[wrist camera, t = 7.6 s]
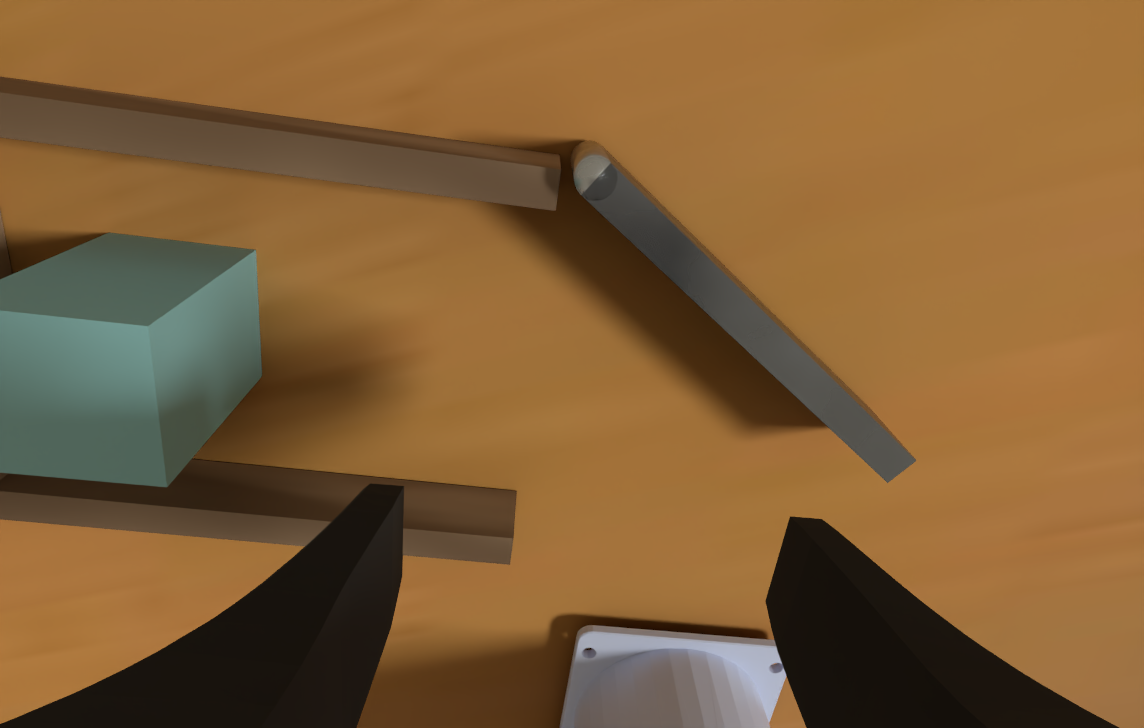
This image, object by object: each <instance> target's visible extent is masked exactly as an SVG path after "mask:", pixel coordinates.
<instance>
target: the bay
mask: <svg viewBox="0 0 1144 728" xmlns="http://www.w3.org/2000/svg"><path fill="white" fill-rule="evenodd" d="M0 137H1V138H9V139H16V140H24V141H31V142H39V143H47V144H54V145H62V146H69V147H77V148H84V149H92V150H99V151H107V152H115V153H122V154H130V155H137V156H145V157H152V158H160V159H167V160H175V161H182V162H190V163H198V164H205V165H213V166H220V167H228V168H235V169H243V170H250V171H258V172H266V173H273V174H281V175H288V176H296V177H303V178H311V179H318V180H326V181H334V182H341V183H349V184H356V185H364V186H371V187H379V188H386V189H394V190H401V191H409V192H417V193H424V194H432V195H439V196H447V197H454V198H462V199H469V200H477V201H485V202H492V203H500V204H507V205H515V206H522V207H530V208H537V209H545V210H553V211H556V205H557V198H558V190H559V182H560V174H561V164H560V155H558V154H551V153H544V152H537V151H529V150H522V149H515V148H508V147H501V146H494V145H486V144H479V143H472V142H465V141H458V140H450V139H443V138H436V137H429V136H422V135H415V134H407V133H400V132H393V131H386V130H379V129H372V128H364V127H357V126H350V125H343V124H336V123H328V122H321V121H314V120H307V119H300V118H293V117H285V116H278V115H271V114H264V113H257V112H249V111H242V110H235V109H228V108H221V107H214V106H206V105H199V104H192V103H185V102H178V101H171V100H163V99H156V98H149V97H142V96H135V95H127V94H120V93H113V92H106V91H99V90H92V89H84V88H77V87H70V86H63V85H56V84H48V83H41V82H34V81H27V80H20V79H13V78H5V77H0ZM9 275H12V270H11V265H10V260H9V255H8V249H7V244H6V239H5V234H4V228H3V223H2V218H1V212H0V279H2V278H5V277H7V276H9ZM370 483H372V484H384V485H397V486H404V516H403V555H408V556H419V557H430V558H441V559H453V560H464V561H475V562H486V563H497V564H509V565H510V560H511V552H512V544H513V535H514V521H515V506H516V492H517V491H512V490H501V489H491V488H481V487H471V486H461V485H450V484H440V483H430V482H420V481H410V480H399V479H389V478H379V477H369V476H359V475H348V474H338V473H328V472H318V471H308V470H297V469H287V468H277V467H267V466H256V465H246V464H236V463H226V462H216V461H205V460H195V459H191V460H190V461H189V462H188V464H187V465H186V466H185V467H184V468H183V469H182V471H181V472H180V473H179V474H178V475H177V476H176V478H175V479H174V480H173V481H172V482H171V483H170V485H169V486H168V487H158V486H147V485H135V484H124V483H113V482H102V481H90V480H79V479H68V478H56V477H45V476H34V475H22V474H11V473H0V519H4V520H15V521H26V522H37V523H48V524H60V525H71V526H82V527H93V528H105V529H116V530H127V531H138V532H149V533H161V534H172V535H183V536H194V537H206V538H217V539H228V540H239V541H250V542H262V543H273V544H284V545H295V546H306V545H307V544H308V543H309V542H311V541H312V540H313V539H314V538H315V537H316V536H317V535H318V534H319V533H320V532H321V531H322V530H323V529H324V528H325V527H327V526H328V525H329V524H330V523H331V522H332V521H333V520H334V519H335V518H336V517H337V516H338V515H339V514H340V513H341V512H342V511H343V510H344V509H345V508H346V506H347V505H348V504H349V503H350V502H351V501H352V500H353V499H354V498H355V497H356V496H357V495H358V494H359V493H360V492H361V491H362V490H363V489H364V488H365V487H366V486H367V485H369V484H370Z"/></svg>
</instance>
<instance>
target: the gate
mask: <svg viewBox="0 0 1144 728" xmlns="http://www.w3.org/2000/svg"><path fill="white" fill-rule="evenodd" d="M571 167H572V172H573V177H574V182H575V186H576V189H577V191H578V192H579V194H580V195H581V196H582V197H584V198H585V199H586V200H587V201H588V202H589V203H590V204H591V205H592V206H593V207H594V208H595V209H596V210H597V211H598V212H600V213H601V214H602V215H603V216H604V217H605V218H606V219H607V220H608V221H609V222H610V223H611V224H612V225H613V226H614V227H616V228H617V229H618V230H619V231H620V232H621V233H622V234H623V235H624V236H625V237H626V238H627V239H628V240H629V241H630V242H631V243H633V244H634V245H635V246H636V247H637V248H638V249H639V250H640V251H641V252H642V253H643V254H644V255H645V256H646V257H647V258H649V259H650V260H651V261H652V262H653V263H654V264H655V265H656V266H657V267H658V268H659V269H660V270H661V271H662V272H663V273H665V274H666V275H667V276H668V277H669V278H670V279H671V280H672V281H673V282H674V283H675V284H676V285H677V286H678V287H679V288H681V289H682V290H683V291H684V292H685V293H686V294H687V295H688V296H689V297H690V298H691V299H692V300H693V301H694V302H695V303H697V304H698V305H699V306H700V307H701V308H702V309H703V310H704V311H705V312H706V313H707V314H708V315H709V316H710V317H711V318H712V319H714V320H715V321H716V322H717V323H718V324H719V325H720V326H721V327H722V328H723V329H724V330H725V331H726V332H727V333H728V334H730V335H731V336H732V337H733V338H734V339H735V340H736V341H737V342H738V343H739V344H740V345H741V346H742V347H743V348H744V349H746V350H747V351H748V352H749V353H750V354H751V355H752V356H753V357H754V358H755V359H756V360H757V361H758V362H759V363H760V364H762V365H763V366H764V367H765V368H766V369H767V370H768V371H769V372H770V373H771V374H772V375H773V376H774V377H775V378H776V379H778V380H779V381H780V382H781V383H782V384H783V385H784V386H785V387H786V388H787V389H788V390H789V391H790V392H791V393H792V394H793V395H795V396H796V397H797V398H798V399H799V400H800V401H801V402H802V403H803V404H804V405H805V406H806V407H807V408H808V409H809V410H811V411H812V412H813V413H814V414H815V415H816V416H817V417H818V418H819V419H820V420H821V421H822V422H823V423H824V424H825V425H827V426H828V427H829V428H830V429H831V430H832V431H833V432H834V433H835V434H836V435H837V436H838V437H839V438H840V439H841V440H843V441H844V442H845V443H846V444H847V445H848V446H849V447H850V448H851V449H852V450H853V451H854V452H855V453H856V454H857V455H859V456H860V457H861V458H862V459H863V460H864V461H865V462H866V463H867V464H868V465H869V466H870V467H871V468H872V469H873V470H874V471H876V472H877V473H878V474H879V475H880V476H881V477H882V478H883V479H884V480H885V481H886V482H887V483H888V482H889V481H891V480H892V479H893V478H895V477H896V476H897V475H898V474H900V473H901V472H902V471H904V470H905V469H906V468H907V467H909V466H910V465H911V464H913V463H914V462H915V461H916V459H915V458H914V457H913V456H912V455H911V454H910V453H909V452H908V450H907V449H906V448H905V447H904V446H903V445H902V444H901V443H900V441H899V440H898V439H897V438H896V437H895V436H894V435H893V433H892V432H891V431H890V430H889V429H888V428H887V427H886V426H885V424H884V423H883V422H882V421H881V420H880V419H879V418H878V417H877V415H876V414H875V413H874V412H873V411H872V410H871V409H870V408H869V407H868V406H867V405H866V404H865V403H864V402H863V401H862V400H861V399H860V398H859V397H858V396H857V395H856V394H855V393H854V392H853V391H852V390H851V389H850V388H849V387H848V386H847V385H846V384H845V383H844V382H843V381H842V380H841V379H840V378H839V377H838V376H836V375H835V374H834V373H833V372H832V371H831V370H830V369H829V368H828V367H827V366H826V365H825V364H824V363H823V362H822V361H821V360H820V359H819V358H818V357H817V356H816V355H815V354H814V353H813V352H812V351H811V350H810V349H809V348H808V347H807V346H806V345H805V344H804V343H803V342H802V341H801V340H800V339H799V338H798V337H797V336H796V335H795V334H794V333H793V332H792V331H791V330H789V329H788V328H787V327H786V326H785V325H784V324H783V323H782V322H781V321H780V320H779V319H778V318H777V317H776V316H775V315H774V314H773V313H772V312H771V311H770V310H769V309H768V308H767V307H766V306H765V305H764V304H763V303H762V302H761V301H760V300H759V299H758V298H757V297H756V296H755V295H754V294H753V293H752V292H751V291H750V290H749V289H748V288H747V287H746V286H745V285H744V284H743V283H741V282H740V281H739V280H738V279H737V278H736V277H735V276H734V275H733V274H732V273H731V272H730V271H729V270H728V269H727V268H726V267H725V266H724V265H723V264H722V263H721V262H720V261H719V260H718V259H717V258H716V257H715V256H714V255H713V254H712V253H711V252H710V251H709V250H708V249H707V248H706V247H705V246H704V245H703V244H702V243H701V242H700V241H699V240H698V239H697V238H696V237H695V236H693V235H692V234H691V233H690V232H689V231H688V230H687V229H686V228H685V227H684V226H683V225H682V224H681V223H680V222H679V221H678V220H677V219H676V218H675V217H674V216H673V215H672V214H671V213H670V212H669V211H668V210H667V209H666V208H665V207H664V206H663V205H662V204H661V203H660V202H659V201H658V200H657V199H656V198H655V197H654V196H653V195H652V194H651V193H650V192H649V191H648V190H647V189H645V188H644V187H643V186H642V185H641V184H640V183H639V182H638V181H637V180H636V179H635V178H634V177H633V176H632V175H631V174H630V173H629V172H628V171H627V170H626V169H625V168H624V167H623V166H622V165H621V164H620V163H619V162H618V161H617V160H616V159H615V158H614V157H613V156H612V155H611V154H610V153H609V152H608V151H607V150H606V149H605V148H604V147H603V146H602V145H600V144H599V143H597V142H595V141H584V142H581V143H579V144H578V145H577V146H576V147H575V148H574V150H573V151H572V154H571Z"/></svg>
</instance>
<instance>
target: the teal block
mask: <svg viewBox="0 0 1144 728" xmlns="http://www.w3.org/2000/svg"><path fill="white" fill-rule="evenodd" d="M261 377H262V363H261V343H260V323H259V303H258V284H257V264H256V250H253V249H244V248H236V247H227V246H219V245H210V244H202V243H193V242H185V241H176V240H168V239H159V238H151V237H142V236H133V235H125V234H116V233H107V234H104V235H102V236H100V237H97V238H95V239H93V240H90V241H88V242H86V243H83V244H81V245H79V246H77V247H74V248H72V249H70V250H67V251H65V252H63V253H60V254H58V255H56V256H53V257H51V258H49V259H46V260H44V261H42V262H39V263H37V264H35V265H33V266H30V267H28V268H26V269H23V270H21V271H19V272H16V273H14V274H12V275H9V276H7V277H5V278H2V279H0V473H11V474H22V475H34V476H45V477H56V478H68V479H79V480H90V481H102V482H113V483H124V484H135V485H147V486H158V487H168V486H169V485H170V483H171V482H172V481H173V480H174V479H175V478H176V476H177V475H178V474H179V473H180V472H181V471H182V469H183V468H184V467H185V466H186V465H187V464H188V462H189V461H190V460H191V459H192V458H193V457H194V455H195V454H196V453H197V452H198V451H199V450H200V448H201V447H202V446H203V445H204V444H205V443H206V441H207V440H208V439H209V438H210V437H211V436H212V434H213V433H214V432H215V431H216V430H217V428H218V427H219V426H220V425H221V424H222V423H223V421H224V420H225V419H226V418H227V417H228V416H229V414H230V413H231V412H232V411H233V410H234V409H235V407H236V406H237V405H238V404H239V403H240V402H241V400H242V399H243V398H244V397H245V396H246V395H247V393H248V392H249V391H250V390H251V389H252V388H253V386H254V385H255V384H256V383H257V382H258V381H259V379H260V378H261Z"/></svg>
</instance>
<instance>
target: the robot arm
mask: <svg viewBox="0 0 1144 728" xmlns="http://www.w3.org/2000/svg"><path fill="white" fill-rule="evenodd" d="M403 516H404V486H397V485H384V484H372V483H370V484H369V485H367V486H366V487H365V488H364V489H363V490H362V491H361V492H360V493H359V494H358V495H357V496H356V497H355V498H354V499H353V500H352V501H351V502H350V503H349V504H348V505H347V506H346V508H345V509H344V510H343V511H342V512H341V513H340V514H339V515H338V516H337V517H336V518H335V519H334V520H333V521H332V522H331V523H330V524H329V525H328V526H327V527H325V528H324V529H323V530H322V531H321V532H320V533H319V534H318V535H317V536H316V537H315V538H314V539H313V540H312V541H311V542H309V543H308V544H307V545H306V546H305V547H304V548H303V549H302V550H301V551H300V552H299V553H297V554H296V555H295V556H294V557H293V558H292V559H290V560H289V561H288V562H287V563H286V564H284V565H283V566H282V567H281V568H280V569H278V570H277V571H276V572H275V573H274V574H272V575H271V576H270V577H269V578H268V579H266V580H265V581H264V582H263V583H262V584H260V585H259V586H258V587H256V588H255V589H254V590H252V591H251V592H250V593H248V594H247V595H246V596H244V597H243V598H242V599H240V600H239V601H238V602H236V603H235V604H233V605H232V606H231V607H229V608H228V609H226V610H225V611H223V612H222V613H220V614H219V615H218V616H216V617H215V618H213V619H211V620H210V621H208V622H207V623H205V624H203V625H202V626H200V627H198V628H197V629H195V630H193V631H192V632H190V633H188V634H187V635H185V636H183V637H182V638H180V639H178V640H176V641H175V642H173V643H171V644H170V645H168V646H166V647H165V648H163V649H161V650H160V651H158V652H156V653H154V654H152V655H151V656H149V657H147V658H145V659H143V660H141V661H139V662H137V663H135V664H133V665H132V666H130V667H128V668H126V669H124V670H122V671H120V672H118V673H116V674H114V675H112V676H110V677H108V678H105V679H103V680H101V681H99V682H97V683H95V684H93V685H91V686H89V687H87V688H84V689H82V690H80V691H78V692H76V693H74V694H71V695H69V696H67V697H64V698H62V699H59V700H57V701H55V702H52V703H50V704H48V705H45V706H43V707H41V708H38V709H36V710H33V711H31V712H29V713H26V714H24V715H22V716H19V717H17V718H14V719H12V720H10V721H7V722H4V723H2V724H0V728H356V727H357V724H358V721H359V718H360V716H361V713H362V710H363V707H364V704H365V701H366V698H367V695H368V693H369V690H370V687H371V684H372V681H373V678H374V675H375V672H376V669H377V667H378V664H379V661H380V658H381V655H382V652H383V649H384V646H385V643H386V640H387V637H388V634H389V631H390V628H391V625H392V620H393V616H394V611H395V607H396V602H397V598H398V593H399V588H400V583H401V579H402V559H403ZM766 605H767V610H768V614H769V619H770V623H771V628H772V632H773V636H774V640H767V639H755V638H743V637H731V636H719V635H706V634H694V633H682V632H670V631H658V630H646V629H634V628H622V627H610V626H598V625H587V626H584V627H582V628H581V629H580V630H579V631H578V633H577V636H576V642H575V647H574V652H573V658H572V663H571V668H570V674H569V679H568V684H567V690H566V695H565V700H564V706H563V711H562V716H561V722H560V727H559V728H770V725H769V722H770V719H771V717H772V714H773V711H774V708H775V705H776V703H777V700H778V697H779V694H780V691H781V689H782V686H783V683H784V680H785V677H786V676H787V678H788V681H789V684H790V686H791V689H792V691H793V694H794V697H795V699H796V702H797V704H798V707H799V709H800V712H801V714H802V717H803V720H804V722H805V725H806V727H807V728H1119V727H1117V726H1115V725H1113V724H1111V723H1109V722H1107V721H1106V720H1104V719H1102V718H1100V717H1098V716H1096V715H1094V714H1092V713H1090V712H1089V711H1087V710H1085V709H1083V708H1081V707H1080V706H1078V705H1076V704H1074V703H1073V702H1071V701H1069V700H1067V699H1066V698H1064V697H1062V696H1060V695H1059V694H1057V693H1055V692H1053V691H1052V690H1050V689H1048V688H1046V687H1045V686H1043V685H1041V684H1040V683H1038V682H1036V681H1035V680H1033V679H1031V678H1030V677H1028V676H1027V675H1025V674H1023V673H1022V672H1020V671H1019V670H1017V669H1015V668H1014V667H1012V666H1011V665H1009V664H1008V663H1006V662H1005V661H1003V660H1002V659H1000V658H999V657H997V656H996V655H994V654H993V653H991V652H990V651H988V650H987V649H985V648H984V647H982V646H981V645H979V644H978V643H976V642H975V641H974V640H972V639H971V638H969V637H968V636H966V635H965V634H964V633H962V632H961V631H960V630H958V629H957V628H956V627H954V626H953V625H952V624H950V623H949V622H948V621H946V620H945V619H944V618H942V617H941V616H940V615H938V614H937V613H936V612H934V611H933V610H932V609H930V608H929V607H928V606H927V605H925V604H924V603H923V602H922V601H920V600H919V599H918V598H917V597H915V596H914V595H913V594H912V593H910V592H909V591H908V590H907V589H905V588H904V587H903V586H902V585H901V584H899V583H898V582H897V581H896V580H895V579H893V578H892V577H891V576H890V575H889V574H887V573H886V572H885V571H884V570H883V569H882V568H880V567H879V566H878V565H877V564H876V563H874V562H873V561H872V560H871V559H870V558H869V557H867V556H866V555H865V554H864V553H863V552H862V551H860V550H859V549H858V548H857V547H856V546H855V545H853V544H852V543H851V542H850V541H849V540H847V539H846V538H845V537H844V536H843V535H841V534H840V533H839V532H838V531H837V530H835V529H834V528H833V527H831V526H830V525H829V524H828V523H826V522H825V521H823V520H822V519H814V518H801V517H790V519H789V522H788V526H787V529H786V533H785V536H784V539H783V543H782V546H781V550H780V553H779V557H778V560H777V563H776V567H775V570H774V574H773V577H772V581H771V584H770V588H769V591H768V594H767V598H766ZM586 648H593V649H591V650H585V649H586ZM774 663H777V664H774ZM772 664H774V665H772Z"/></svg>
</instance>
